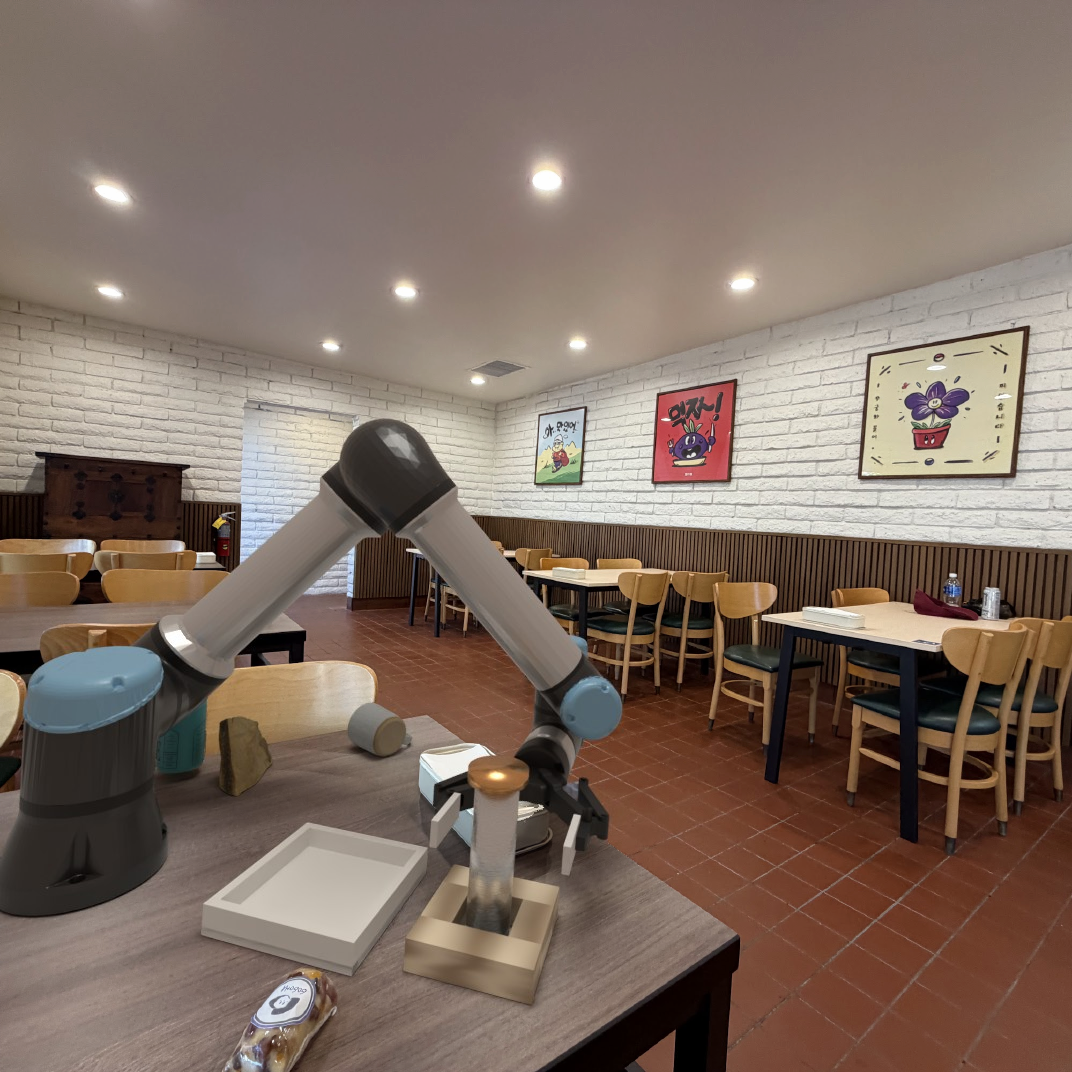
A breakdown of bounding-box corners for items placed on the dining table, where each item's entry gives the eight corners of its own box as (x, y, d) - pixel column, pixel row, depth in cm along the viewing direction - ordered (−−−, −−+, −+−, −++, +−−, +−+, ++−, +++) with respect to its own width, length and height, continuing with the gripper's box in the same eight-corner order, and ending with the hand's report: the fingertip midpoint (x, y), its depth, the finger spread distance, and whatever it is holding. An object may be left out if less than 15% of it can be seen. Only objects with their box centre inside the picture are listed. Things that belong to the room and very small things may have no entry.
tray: (201, 935, 54) (203, 903, 54) (305, 846, 69) (307, 822, 69) (351, 976, 50) (353, 943, 50) (426, 873, 66) (428, 847, 66)
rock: (258, 742, 94) (196, 751, 86) (284, 707, 92) (224, 713, 84) (281, 798, 89) (218, 814, 81) (309, 763, 87) (247, 775, 79)
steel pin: (446, 955, 53) (459, 774, 53) (468, 914, 59) (479, 751, 59) (507, 970, 52) (520, 785, 52) (523, 927, 58) (535, 760, 58)
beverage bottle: (212, 773, 87) (221, 644, 87) (165, 788, 81) (174, 650, 81) (190, 761, 90) (199, 637, 90) (144, 775, 85) (153, 642, 85)
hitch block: (403, 970, 51) (405, 938, 51) (452, 891, 63) (454, 864, 63) (531, 1005, 49) (533, 970, 48) (557, 914, 60) (559, 887, 60)
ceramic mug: (373, 763, 94) (377, 717, 94) (344, 749, 99) (348, 706, 99) (422, 748, 103) (425, 706, 103) (393, 736, 108) (396, 695, 108)
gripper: (634, 808, 74) (622, 912, 53) (454, 776, 79) (380, 860, 58) (638, 750, 74) (628, 833, 53) (458, 723, 79) (385, 787, 58)
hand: (498, 847), depth 56 cm, fingers open, 13 cm apart
